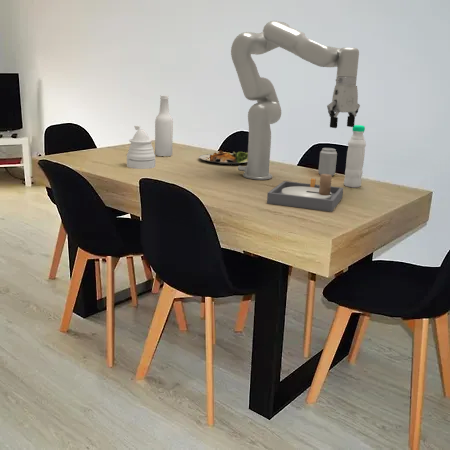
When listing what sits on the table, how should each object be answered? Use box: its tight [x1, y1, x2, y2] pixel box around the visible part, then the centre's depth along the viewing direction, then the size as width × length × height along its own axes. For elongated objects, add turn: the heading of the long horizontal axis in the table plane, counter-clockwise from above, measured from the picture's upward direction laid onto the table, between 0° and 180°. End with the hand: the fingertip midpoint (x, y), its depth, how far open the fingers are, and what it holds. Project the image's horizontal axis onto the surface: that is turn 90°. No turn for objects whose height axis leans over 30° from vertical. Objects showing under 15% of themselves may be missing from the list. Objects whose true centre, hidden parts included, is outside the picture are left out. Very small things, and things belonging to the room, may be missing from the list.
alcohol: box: [154, 94, 174, 157], centre depth 276 cm, size 9×9×30 cm
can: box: [317, 147, 338, 177], centre depth 248 cm, size 8×8×12 cm
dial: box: [282, 174, 333, 200], centre depth 200 cm, size 18×18×8 cm
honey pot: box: [126, 125, 156, 170], centre depth 249 cm, size 13×13×18 cm
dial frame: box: [266, 178, 344, 212], centre depth 201 cm, size 23×23×6 cm
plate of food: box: [198, 150, 248, 165], centre depth 273 cm, size 28×28×6 cm
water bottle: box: [343, 124, 367, 189], centre depth 225 cm, size 7×7×25 cm
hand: (341, 127), depth 214 cm, fingers open, 9 cm apart
